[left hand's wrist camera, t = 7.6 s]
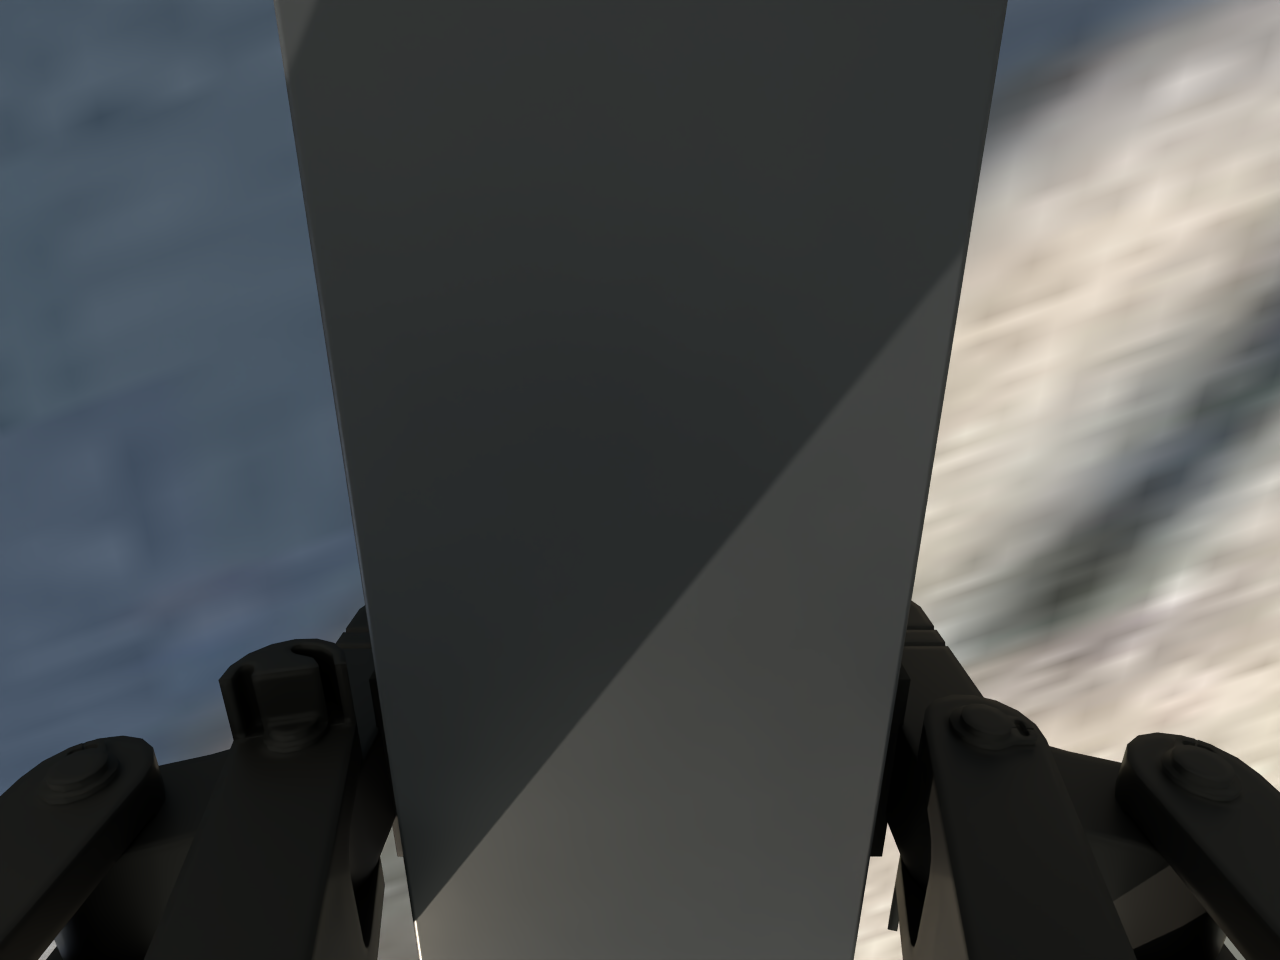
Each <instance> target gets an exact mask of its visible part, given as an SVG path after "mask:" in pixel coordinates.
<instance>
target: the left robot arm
mask: <svg viewBox="0 0 1280 960" xmlns="http://www.w3.org/2000/svg"><path fill="white" fill-rule="evenodd" d="M219 684H220V688H221V692H222V696H223V700H224V704H225V708H226V712H227V716H228V719H229V723H230V727H231V731H232V735H233V739H234V741H233V744H232V746H231V748H230V749H229V750H225V751H222V752H218V753H215V754H211V755H207V756H202V757H197V758H193V759H188V760H184V761H179V762H174V763H170V764H165V765H161V766H158V762H157V759H156V756H155V753H154V749H153V747H152V746H151V745H149V744H148V743H147V742H146V741H144V740H143V739H141V738H135V737H129V736H116V737H108V738H100V739H96V740H92V741H88V742H86V743H83V744H82V743H81V744H78V745H76V746H73V747H70V748H68V749H66V750H64V751H62V752H60V753H58V754H56V755H54V756H52V757H50V758H48V759H46V760H44V761H43V762H41V763H40V764H38V765H37V766H36V767H34V768H33V769H32V770H30V771H29V772H28V773H26V774H25V775H24V776H22V777H21V778H20V779H19V780H17V781H16V782H15V783H14V784H13V785H12V786H11V787H10V788H9V789H8V790H7V791H6V792H4V793H3V794H2V795H1V796H0V960H38V959H39V958H40V957H41V955H42V954H43V953H44V951H45V950H46V949H47V948H48V946H49V945H50V944H51V943H52V941H53V940H55V942H56V945H57V947H56V948H55V949H54V950H53V952H52V953H51V954H50V955H49V957H48V958H47V959H46V960H377V957H378V947H379V937H380V927H381V917H382V907H383V897H384V887H385V884H384V877H383V871H382V865H381V859H380V855H381V852H382V850H383V847H384V845H385V842H386V840H387V837H388V835H389V832H390V830H391V827H392V825H393V831H394V838H395V844H396V850H397V856H398V857H403V851H402V844H401V838H400V831H399V824H398V818H397V811H396V805H395V798H394V791H393V785H392V778H391V772H390V765H389V758H388V752H387V745H386V739H385V732H384V725H383V719H382V712H381V706H380V699H379V692H378V686H377V679H376V673H375V666H374V659H373V653H372V646H371V640H370V633H369V626H368V620H367V613H366V607H365V606H363V607H362V608H360V609H359V611H358V612H357V614H356V615H355V616H354V618H353V619H352V621H351V622H350V624H349V625H348V626H347V628H346V632H343V634H342V635H341V637H340V638H339V639H338V641H337V642H336V644H335V643H333V642H328V641H324V640H320V639H294V640H289V641H285V642H280V643H276V644H271V645H269V646H266V647H264V648H261V649H259V650H257V651H254V652H252V653H249V654H248V655H246V656H245V657H243V658H242V659H240V660H239V661H237V662H236V663H234V664H233V665H231V666H230V667H229V668H228V669H227V671H226V672H225V673H224V674H223V675H222V677H221V678H220V679H219ZM887 823H888V825H889V827H890V830H891V832H892V835H893V837H894V840H895V842H896V845H897V847H898V850H899V852H900V859H899V865H898V870H897V876H896V882H895V888H894V893H893V899H892V905H891V911H890V917H889V924H888V929H889V930H894V931H897V929H898V923H899V925H900V935H901V945H902V955H903V960H1237V959H1236V958H1235V957H1234V956H1233V954H1232V953H1231V952H1230V951H1229V949H1228V948H1227V947H1226V946H1225V944H1224V941H1225V938H1226V936H1227V937H1228V938H1229V939H1230V941H1231V942H1232V943H1233V944H1234V946H1235V947H1236V948H1237V949H1238V951H1239V952H1240V953H1241V954H1242V956H1243V957H1244V958H1245V959H1246V960H1280V792H1279V791H1278V790H1277V789H1276V788H1274V787H1273V786H1272V785H1271V784H1270V783H1269V782H1268V781H1267V780H1266V779H1265V778H1264V777H1262V776H1261V775H1260V774H1259V773H1257V772H1256V771H1255V770H1253V769H1252V768H1251V767H1249V766H1248V765H1247V764H1245V763H1244V762H1242V761H1241V760H1240V759H1238V758H1237V757H1235V756H1233V755H1231V754H1229V753H1227V752H1225V751H1223V750H1221V749H1219V748H1217V747H1215V746H1213V745H1211V744H1208V743H1206V742H1203V741H1200V740H1195V739H1193V738H1189V737H1185V736H1182V735H1174V734H1166V733H1151V734H1145V735H1138V736H1137V737H1136V738H1135V739H1133V740H1132V741H1131V742H1130V743H1128V744H1127V747H1126V751H1125V754H1124V757H1123V761H1122V763H1120V762H1115V761H1110V760H1106V759H1101V758H1097V757H1092V756H1087V755H1083V754H1078V753H1073V752H1069V751H1065V750H1062V749H1058V748H1055V747H1051V746H1049V745H1048V742H1047V740H1046V738H1045V737H1044V735H1043V734H1042V733H1041V731H1040V730H1039V728H1038V727H1037V725H1036V724H1035V723H1033V722H1032V721H1031V720H1029V719H1028V718H1027V717H1025V716H1024V715H1023V714H1022V713H1020V712H1019V711H1017V710H1015V709H1013V708H1011V707H1009V706H1007V705H1004V704H1002V703H1000V702H998V701H996V700H991V699H987V698H984V697H983V696H982V694H981V693H980V691H979V690H978V689H977V687H976V686H975V684H974V683H973V681H972V680H971V679H970V677H969V676H968V674H967V673H966V671H965V670H964V669H963V667H962V666H961V664H960V663H959V661H958V660H957V658H956V657H955V656H954V654H953V653H952V651H951V650H950V648H949V647H948V646H945V641H944V640H943V638H942V637H941V636H940V634H939V633H938V631H937V630H934V626H933V624H932V623H931V621H930V620H929V618H928V617H927V615H926V614H925V613H924V611H923V610H922V608H921V607H920V606H919V605H917V604H916V603H914V602H913V601H911V605H910V611H909V618H908V624H907V630H906V636H905V642H904V649H903V655H902V661H901V667H900V674H899V680H898V686H897V692H896V698H895V705H894V711H893V717H892V723H891V730H890V736H889V742H888V748H887V754H886V761H885V767H884V773H883V779H882V786H881V792H880V798H879V804H878V810H877V817H876V823H875V829H874V835H873V841H872V848H871V854H870V856H882V853H883V847H884V841H885V835H886V829H887Z"/></svg>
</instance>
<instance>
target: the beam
mask: <svg viewBox="0 0 1280 960" xmlns="http://www.w3.org/2000/svg"><path fill="white" fill-rule="evenodd" d="M1007 2H1008V0H274V6H275V13H276V19H277V26H278V33H279V39H280V46H281V52H282V59H283V66H284V72H285V79H286V85H287V92H288V99H289V105H290V112H291V118H292V125H293V132H294V138H295V145H296V151H297V158H298V165H299V171H300V178H301V184H302V191H303V198H304V204H305V211H306V217H307V224H308V231H309V237H310V244H311V250H312V257H313V264H314V270H315V277H316V283H317V290H318V297H319V303H320V310H321V316H322V323H323V330H324V336H325V343H326V349H327V356H328V362H329V369H330V376H331V382H332V389H333V395H334V402H335V409H336V415H337V422H338V428H339V435H340V442H341V448H342V455H343V461H344V468H345V475H346V481H347V488H348V494H349V501H350V508H351V514H352V521H353V527H354V534H355V541H356V547H357V554H358V560H359V567H360V574H361V580H362V587H363V593H364V600H365V607H366V613H367V620H368V626H369V633H370V640H371V646H372V653H373V659H374V666H375V673H376V679H377V686H378V692H379V699H380V706H381V712H382V719H383V725H384V732H385V739H386V745H387V752H388V758H389V765H390V772H391V778H392V785H393V791H394V798H395V805H396V811H397V818H398V824H399V831H400V838H401V844H402V851H403V857H404V864H405V870H406V877H407V884H408V890H409V897H410V903H411V910H412V917H413V923H414V930H415V936H416V943H417V950H418V956H419V960H854V953H855V947H856V941H857V935H858V929H859V922H860V916H861V910H862V904H863V898H864V891H865V885H866V879H867V873H868V866H869V860H870V854H871V848H872V841H873V835H874V829H875V823H876V817H877V810H878V804H879V798H880V792H881V786H882V779H883V773H884V767H885V761H886V754H887V748H888V742H889V736H890V730H891V723H892V717H893V711H894V705H895V698H896V692H897V686H898V680H899V674H900V667H901V661H902V655H903V649H904V642H905V636H906V630H907V624H908V618H909V611H910V605H911V599H912V593H913V586H914V580H915V574H916V568H917V562H918V555H919V549H920V543H921V537H922V530H923V524H924V518H925V512H926V506H927V499H928V493H929V487H930V481H931V474H932V468H933V462H934V456H935V450H936V443H937V437H938V431H939V425H940V418H941V412H942V406H943V400H944V394H945V387H946V381H947V375H948V369H949V362H950V356H951V350H952V344H953V338H954V331H955V325H956V319H957V313H958V306H959V300H960V294H961V288H962V282H963V275H964V269H965V263H966V257H967V250H968V244H969V238H970V232H971V226H972V219H973V213H974V207H975V201H976V194H977V188H978V182H979V176H980V170H981V163H982V157H983V151H984V145H985V138H986V132H987V126H988V120H989V114H990V107H991V101H992V95H993V89H994V82H995V76H996V70H997V64H998V58H999V51H1000V45H1001V39H1002V33H1003V26H1004V20H1005V14H1006V8H1007Z"/></svg>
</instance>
